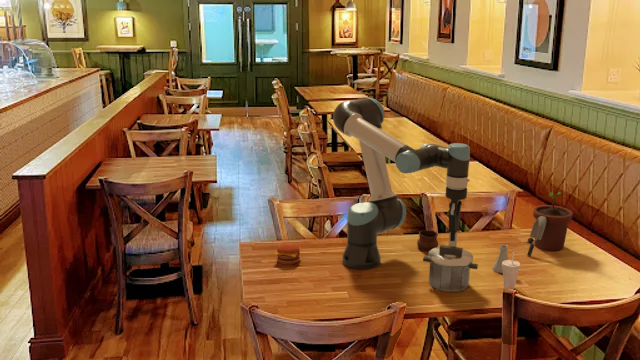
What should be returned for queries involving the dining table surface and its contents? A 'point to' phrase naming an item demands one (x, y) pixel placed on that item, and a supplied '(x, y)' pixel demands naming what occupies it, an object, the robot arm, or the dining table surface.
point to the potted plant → (549, 227)
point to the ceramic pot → (427, 240)
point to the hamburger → (288, 253)
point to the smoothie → (510, 272)
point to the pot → (449, 276)
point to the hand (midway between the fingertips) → (452, 247)
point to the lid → (450, 256)
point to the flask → (501, 259)
